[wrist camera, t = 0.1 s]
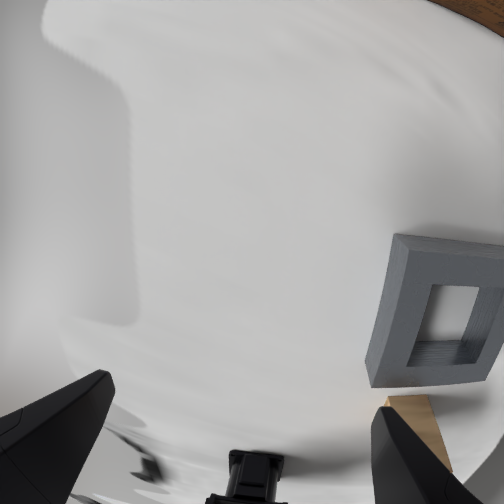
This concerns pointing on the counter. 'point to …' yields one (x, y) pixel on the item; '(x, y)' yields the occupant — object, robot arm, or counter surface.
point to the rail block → (413, 308)
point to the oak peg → (421, 422)
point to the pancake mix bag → (479, 12)
